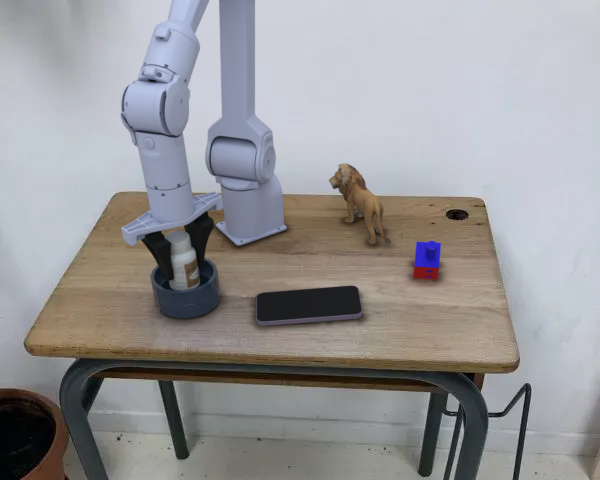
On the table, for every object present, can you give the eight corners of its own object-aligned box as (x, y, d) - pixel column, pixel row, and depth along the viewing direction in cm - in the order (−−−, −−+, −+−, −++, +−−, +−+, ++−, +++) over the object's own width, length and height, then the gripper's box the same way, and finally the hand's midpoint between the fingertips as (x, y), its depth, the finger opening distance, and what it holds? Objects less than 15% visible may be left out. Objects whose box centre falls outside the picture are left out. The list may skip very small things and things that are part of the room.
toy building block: (412, 283, 106) (415, 256, 98) (414, 259, 107) (417, 230, 100) (436, 285, 105) (440, 258, 98) (438, 260, 107) (442, 232, 99)
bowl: (203, 276, 106) (199, 248, 103) (232, 306, 100) (228, 277, 97) (146, 297, 103) (140, 268, 99) (172, 329, 97) (167, 300, 94)
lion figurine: (325, 214, 119) (324, 164, 113) (350, 205, 121) (351, 155, 115) (378, 251, 110) (380, 199, 103) (404, 241, 112) (408, 189, 105)
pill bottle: (197, 293, 98) (189, 245, 92) (167, 292, 98) (157, 245, 93) (203, 275, 101) (195, 228, 96) (173, 275, 101) (164, 228, 96)
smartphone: (256, 292, 102) (357, 284, 101) (256, 298, 102) (357, 290, 102) (256, 322, 96) (363, 314, 96) (256, 329, 97) (363, 320, 97)
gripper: (197, 153, 94) (210, 240, 103) (101, 187, 88) (124, 277, 97) (227, 170, 90) (237, 260, 99) (129, 207, 83) (149, 299, 93)
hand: (183, 270), depth 98 cm, fingers closed on pill bottle, 4 cm apart
